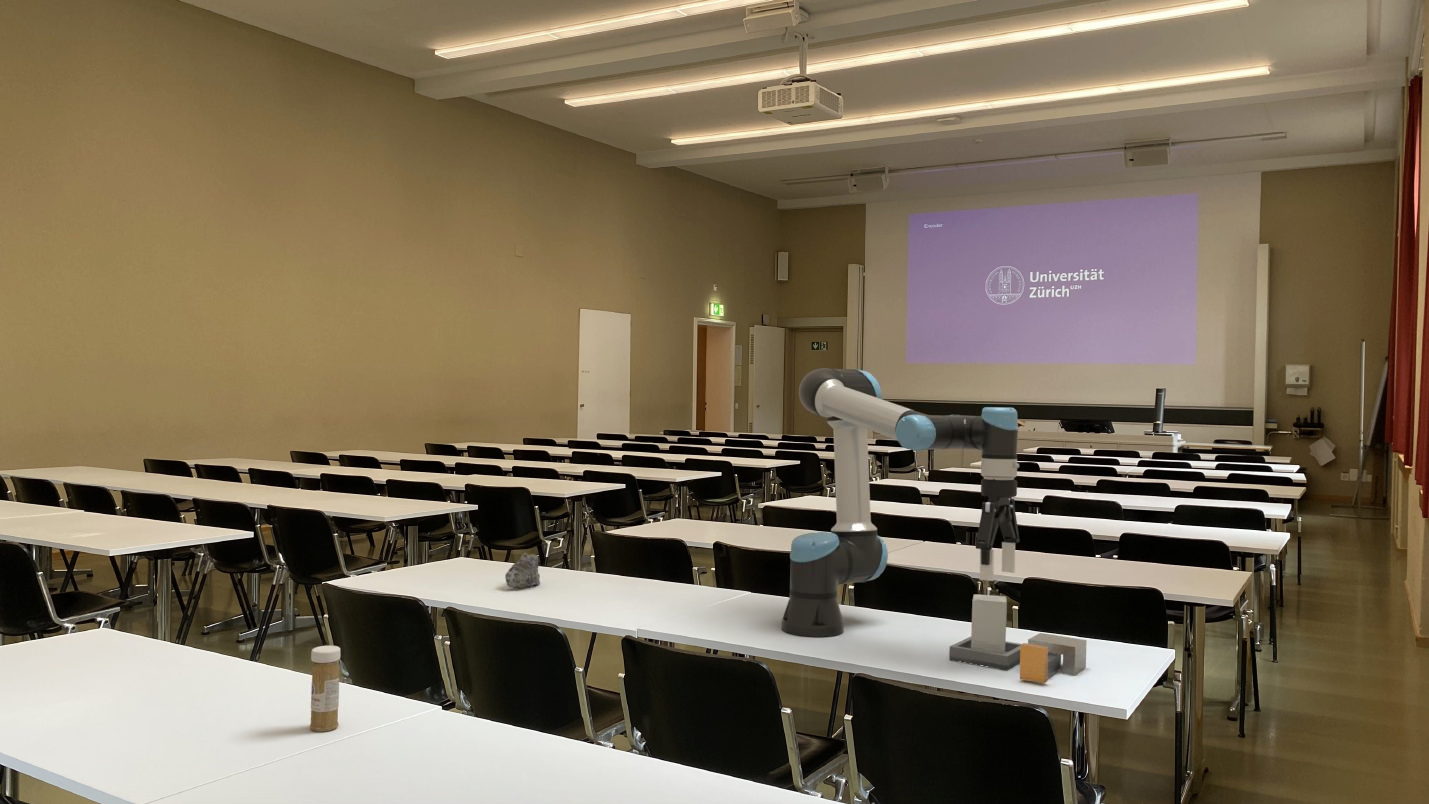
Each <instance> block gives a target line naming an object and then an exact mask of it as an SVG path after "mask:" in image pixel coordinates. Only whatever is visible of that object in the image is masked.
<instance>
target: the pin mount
mask: <svg viewBox="0 0 1429 804" xmlns="http://www.w3.org/2000/svg"><path fill="white" fill-rule="evenodd" d="M1087 642H1088V641H1087V639H1083V638H1081V639H1080V638H1074V637H1070V636H1069V637H1068V636H1061V635H1054V634H1050V633H1043V632H1039V633H1037V634H1036V635H1033V636H1032V637H1030V638H1029V639H1027V644H1033V645H1039V646H1045V647H1048V652H1050V653H1056V654H1061V656H1062V674H1063V675H1067V676H1068V675H1069V676H1077V675H1078V674H1079V673H1081V672H1083V670H1085V669H1086V667H1087Z"/></svg>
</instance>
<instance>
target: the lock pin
mask: <svg viewBox="0 0 1429 804" xmlns="http://www.w3.org/2000/svg"><path fill="white" fill-rule="evenodd" d="M1020 644H1021V645H1020V663H1019V680H1024V681H1028V682H1035V683H1039V684H1046V683H1047V682H1048V677H1050V676H1051V675H1053V674H1055V673H1056V672H1058V671H1059V670H1060V669H1061V670H1062V654H1056V653H1050V652H1048V647H1045V646H1039V645H1033V644H1028V642H1027V643H1025V642H1024V643H1020Z"/></svg>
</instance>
